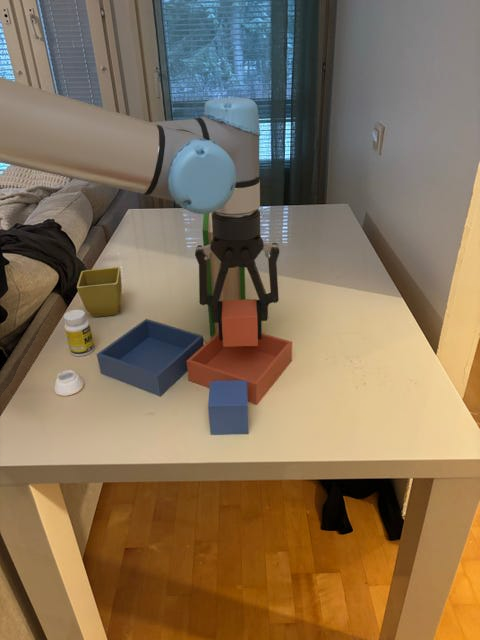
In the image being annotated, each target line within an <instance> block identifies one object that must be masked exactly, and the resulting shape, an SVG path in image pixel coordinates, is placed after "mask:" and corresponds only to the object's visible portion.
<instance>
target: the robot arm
mask: <svg viewBox="0 0 480 640" xmlns="http://www.w3.org/2000/svg"><path fill="white" fill-rule="evenodd" d="M203 106H204V111H203V116H199V117H195V118H188V119H187V118H185V119H175V120H161V121H147V120H144V119H141V118H138V117H134V116H132V115H129V114H128V115H127V114H125V113H121V112H117V111H114V110H111V109H108V108H104V107H102V106H98V105H96V104H95V105H94V104H91V103H87V102H85V101H81V100H78V99H75V98H71V97H68V96H65V95H61V94H58V93H54V92H51V91H47V90H45V89H42V88H38V87H36V86H31V85H28V84H25V83H21V82H18V81H15V80H12V79H8V78H5V77H2V76H0V164H5V165H10V166H15V167H19V168H24V169H27V170H33V171H37V172H42V173H47V174H50V175H54V176H55V175H56V176H59V177H65V178H69V179H73V180H78V181H82V182H88V183H91V184H97V185H102V186H106V187H110V188H113V189H114V188H115V189H121V190H124V191H129V192H134V193H138V194H142V195H145V196H149V197H151V198H152V197H153V198H158V199H163V200H166V201H171V202H174V203H175V204H176V205H178V206H179V207H181V208H182V209H184V210H187V211H188V212H190V213H193V214H197V215H204V214H208V213H212V230H213V239H212V241H211V244H209V245H206V246H204V245H201V244H200V245H196V247H195V251H194V256H195V259H196V262H197V264H198V291H199V292H198V293H199V295H198V296H199V297H198V298H199V304H200V305H201V306H205V305H206V306H208V305H209V306H210V307H211V317H212V322H213V323H218V326H219V341H223V333H222V301H219V299H220V295H221V292H222V288H223V285H224V281H225V278H226V275H227V272H228V269H229V268H234V267H242V268H244V267H245V268H246V269H247V272H248V274H249V276H250V279H251V282H252V284H253V287H254V290H255V292H256V295H257V298H258V299H256V306H257V324H258V340H261V339H262V333H263V332H262V322H267V321H268V319H269V305H270V304H272V303H274V304H277V303H278V302H279V301H280V300H279V299H280V298H279V284H278V283H279V282H278V268H277V266H278V265H277V261H278V258H279V255H280V246H279V244H278V243H277V242H272V243H268V242H264V239H263V238H262V236H261V211H260V210H259V208H260V207H261V179H260V137H261V132H260V131H261V129H260V116H259V107H258V105H257V103H256V102H255V100H253V99H251V98H248V97H221V98H220V97H219V98H215V99H214V98H213V99H209V100H207V101H206V102H205V104H204V105H203ZM262 251H263V252H264V256H265V258H267V261H268V262H267V263H268V276H269V277H268V278H269V291H270V292H268V293H267V292H266V289H265V287H264V283H263V280H262V277H261V274H260V272H259V270H258V266H257V264H256V259H257V258H258V257H259V255H260V254H261V252H262ZM211 252H213V253H214V254H215V255H216V257H217V258H218V259H219V260H220V261H221V264H220V268H219V271H218V275H217V279H216V282H215V286H214V289H213V293H212V295H207V260H208V259H209V258H210V253H211Z"/></svg>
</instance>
